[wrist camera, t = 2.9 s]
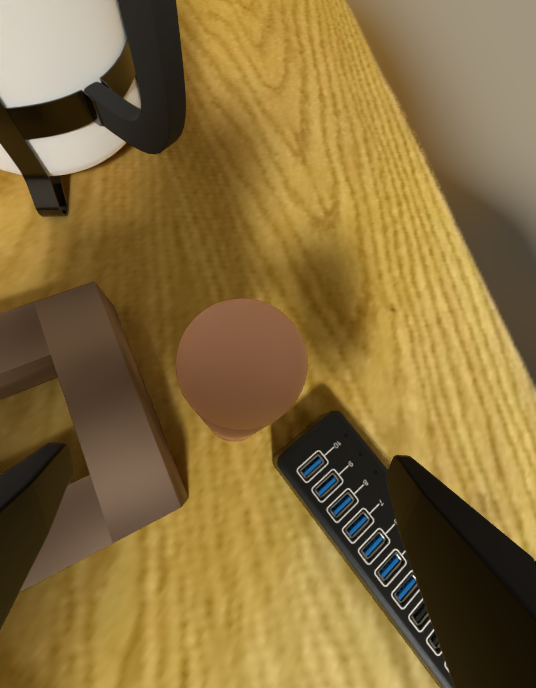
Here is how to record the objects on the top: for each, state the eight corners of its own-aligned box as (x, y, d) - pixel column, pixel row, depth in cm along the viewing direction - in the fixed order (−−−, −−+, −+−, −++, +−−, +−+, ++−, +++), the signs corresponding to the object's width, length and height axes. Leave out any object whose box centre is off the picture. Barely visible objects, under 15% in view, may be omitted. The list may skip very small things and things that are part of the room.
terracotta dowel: (271, 425, 19) (350, 382, 7) (220, 451, 18) (203, 455, 6) (248, 376, 20) (280, 254, 7) (197, 399, 19) (140, 305, 7)
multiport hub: (325, 411, 20) (336, 406, 18) (501, 629, 18) (539, 655, 15) (268, 459, 19) (273, 460, 17) (448, 700, 16) (482, 739, 14)
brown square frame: (188, 497, 17) (181, 507, 15) (-69, 632, 15) (-141, 676, 12) (113, 305, 20) (94, 281, 17) (-117, 387, 17) (-184, 375, 14)
